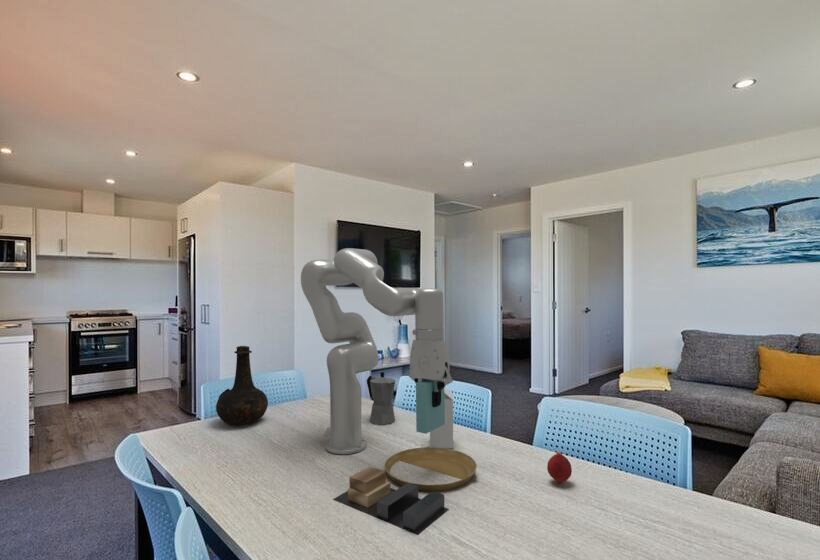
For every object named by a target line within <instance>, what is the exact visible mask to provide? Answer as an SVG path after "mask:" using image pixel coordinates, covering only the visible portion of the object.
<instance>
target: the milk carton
mask: <svg viewBox="0 0 820 560" xmlns="http://www.w3.org/2000/svg"><path fill="white" fill-rule="evenodd" d="M453 400H454V394H453V393H452V391H450V390H449V389H447V388H446V386H445V387H444V402H445V425H443V426H441V427H439V428H437V429H435V430H433V431H431V432H429V447H438V448H447V449H454V401H453Z"/></svg>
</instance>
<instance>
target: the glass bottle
mask: <svg viewBox="0 0 820 560" xmlns="http://www.w3.org/2000/svg"><path fill="white" fill-rule="evenodd" d="M251 353H253V351H252V350H250V346H247V345H239V346H236V350H235V351H234V354H236V363H235V364H236V365H235V366H236V367H235V376H234V382H233V386H232V388H227V389H225V390H223V392H221V393H220V394H219V395H218V399H217V402H216V405H215V411H216V415H217V417H218V418H219V419H220V420H221V421H222V422H224V424H226V425H228V426H230V427H245V425H246V426H249V425H252V424H254V423H257V422H258V421H260V419H262V418H263V416H264V415H265V413H266V412H267V409H268V406H269V401H268V397H267V395H266V394H265V393H264V391H263V390H261V389H259V388H257V387H256V386H255V384H254V382H253V376H252V371H251V370H252V369H251V360H250V359H251V358H250V354H251Z"/></svg>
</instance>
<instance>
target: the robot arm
mask: <svg viewBox="0 0 820 560" xmlns="http://www.w3.org/2000/svg"><path fill="white" fill-rule="evenodd" d="M384 276H385V272H384V269H383V267H382V266H381V265H379V264H378V259H377V256H376V255H375V253H373V251H371V250H369V249H363V248H362V249H361V248H353V247H350V248H349V247H346V248H342V249H340V250H338V251H337V252H336V253H335V255H334V257H333V259H314V260H310V261H308V262H306V264H304V266H303V267H302V269H301V273H300V285H301V289H302V292H303V294H304V296H305V298H306V300H307V302H308V304H309V305H310V309H311V310H312V312H313V315H314V318H315V322H316V324H317V327H318V330H319V332H320V334H321V336H322V338H323V340H324V342H326V343H328V344H340V343H345V344H340V345H337V346H334V347H333V348H331V349H330V350H329V352H328V353H327V355H326V368H327V372H328V377H329V393H330V394H329V399H330V408H329V409H330V413H329V414H330V416H329V417H330V421H329V423H330V424H329V425H330V427H327V428H326V430H325V431H324V432H323V436H325V437H328V438H327V440H328V441H327V442H325V444H324V445H325V447H324V448H325V450H326V451H327V452H329V453H331V454H334V455H351V454H356V453H359V452H361V451H363V450H365V449H366V448H367V444H368V443H367V440H366V439H365V438H363V437H362V387H361V384H360V381H359V379H358V378H357V375H356V374H360V373H364V372H368V371H371V370H373V369H374V368H376V367H377V365H378V364H379V352H378V348H377V345H376V342H375V340H374V337H373V335H372V333H371V331H370V328H369V325H368V324H367V321H366V319H365V318H364V317H363V316H362V315H361V314H359V313H358V312H344V311H343V310H342V309H341V307H340V305H339V302H338V299H337V297H336V296H335V295H334V293H333V292H331V290H329V289H328V288H327V286H331V287H332V286H333V287H334V286H337V287H338V286H343V287H344V286H348V285H350V284H355V285H356V286H358V287H359V288H360V289H362V292H363V296H364V298H365V300H366V302H367V303H368V304H369V305H371V306H372V307H373V308H375V309H376V310H377V311H379V312H380V313H381V314H384V315H385V316H389V317H402V316H415V318H414V320H415V322H414V324H415V326H414V327H415V328H414V329H413V330H412V332H411V333H412V336H414V335H415V339H413V340H412V343H411V347H410V348H411V349H410V357H409V374H408V377H409V378H410V379H411V380H412V381H413V382H414V383H415V384H416V383H417V382H420V381H423V380H432V381H433V388H434V391H433V392H432V406H433V407H437V406H439V405H440V404H441V390H443V388H444V387H445V388H446V386H448V385H449V384H452V383H453V378H452V376H451V375H452V374H451V373H450V357H449V350H448V344H447V341H446V340H445V331H444V330H445V329H444V326H445V322H444V320H445V319H444V292H443V290H442V289H439V288H416V287H391V286H389V285H388V284H386V283H385V282H384ZM347 342H349V343H347ZM442 378H444V381H442Z"/></svg>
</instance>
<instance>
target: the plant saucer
mask: <svg viewBox="0 0 820 560" xmlns="http://www.w3.org/2000/svg"><path fill="white" fill-rule="evenodd" d="M399 462H402V463H404V464H409V465H412V466H415V467H419V468H422V469H425V470H428V471H432V472H435V473H438V474H441V475H445V476H449V477H452V478H455V479H459V480H457V481H454V482H447V483H439V484H423V483H414V482H410V481H406V480H402V479H399V478H397V477H396V476H394V475H392V474H391V468H393V466H394V465H395V464H397V463H399ZM477 467H478V466H477V463H476V460H475V459H474V458H473V457H472V456H470V455H468V454H466V453H465V452H462V451H460V450H457V449H456V450H455V449H453V448H438V447H430V446H429V447H428V446H427V447H425V446H424V447H415V448H409V449H408V448H407V449H405V450H401V451H399V452H396V453H394V454H393V455H391V456H390V457H388V458H387V459H386V461H385V463H384V471H385V472H386V475H388V477H389V478H390V479H391V480H392V481H393V482H394V483H396V484H397V485H400V487H402V486H403V485H405V484H406V483H411V484H414V485H417V486H418V491H423V492H424V491H425V492H432V491H434V492H439V491H440V492H441V491H449V490H452V489H455V488H459V487H461V486H462V485H465V484H466V483H468V481H470V480H471V478H473V477H474V475H475V472H476V470H477Z"/></svg>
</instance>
